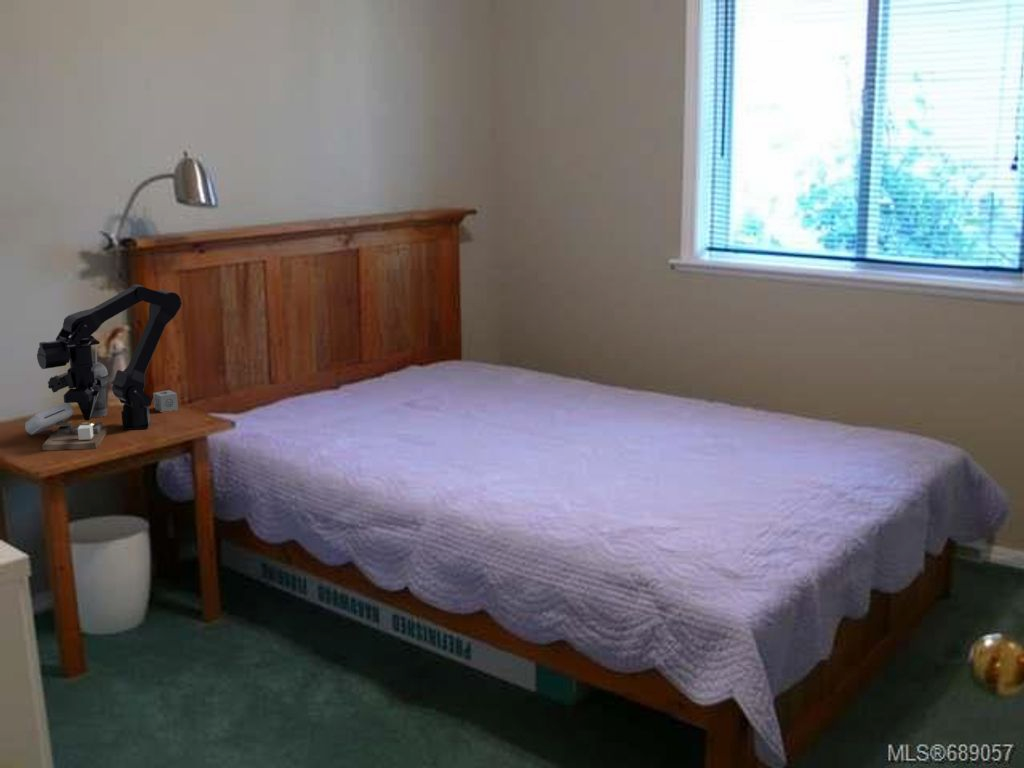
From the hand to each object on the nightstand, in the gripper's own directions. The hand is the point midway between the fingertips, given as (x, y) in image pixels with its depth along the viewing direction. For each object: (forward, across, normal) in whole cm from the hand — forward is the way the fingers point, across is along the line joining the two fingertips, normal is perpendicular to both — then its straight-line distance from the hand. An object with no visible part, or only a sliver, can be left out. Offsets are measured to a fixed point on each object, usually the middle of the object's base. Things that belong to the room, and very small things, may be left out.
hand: (87, 420), depth 292 cm
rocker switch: (+1, 0, -6) cm, 6 cm away
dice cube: (+5, -25, +16) cm, 30 cm away
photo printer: (+2, -7, -13) cm, 15 cm away
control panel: (+5, +4, -2) cm, 6 cm away
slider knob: (+3, +7, +1) cm, 8 cm away
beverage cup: (+5, -21, -2) cm, 22 cm away
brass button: (+3, 0, 0) cm, 3 cm away
